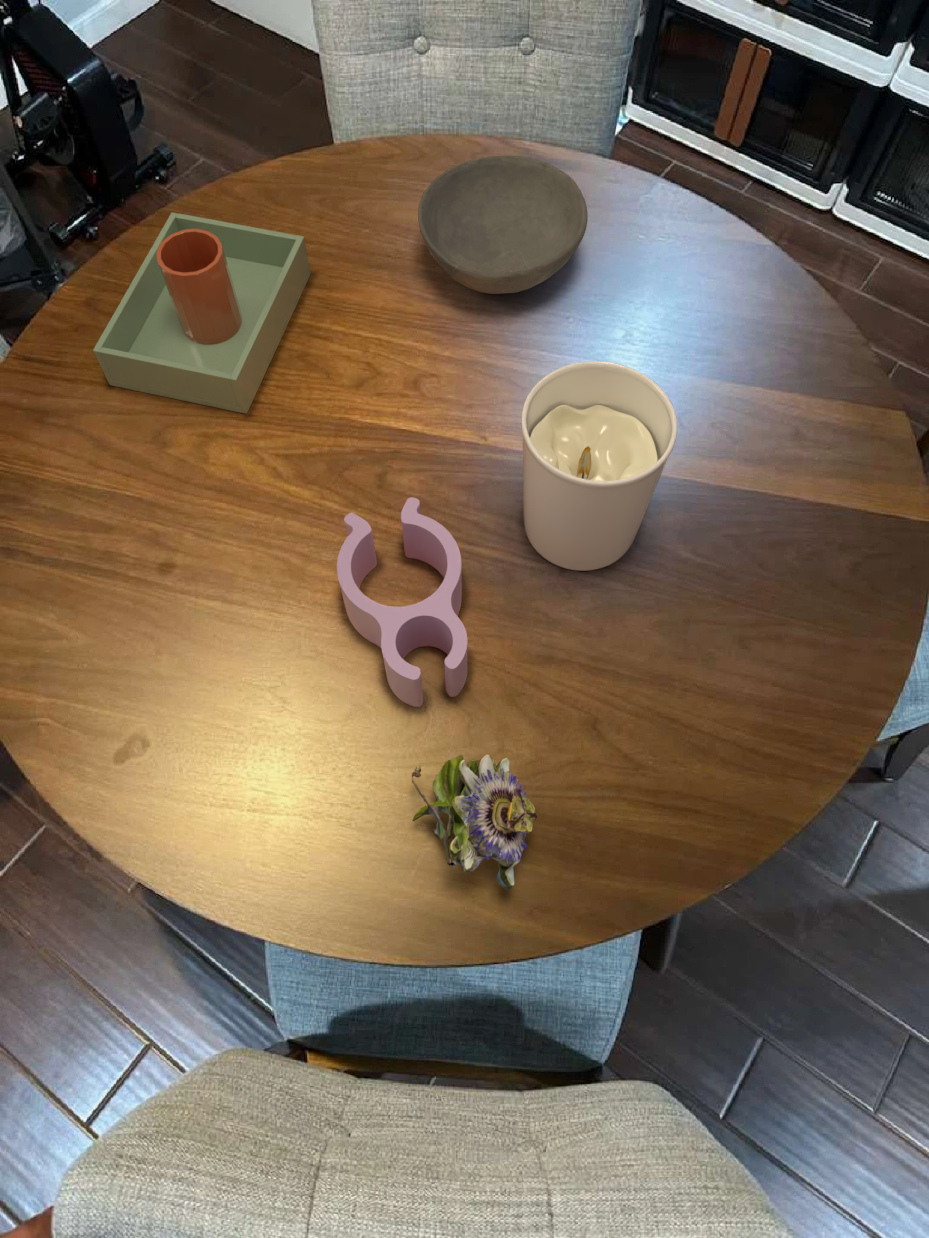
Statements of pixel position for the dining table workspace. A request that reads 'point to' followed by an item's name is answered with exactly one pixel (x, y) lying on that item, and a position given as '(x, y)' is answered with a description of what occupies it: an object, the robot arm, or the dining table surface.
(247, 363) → the green tray
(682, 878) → the dining table surface
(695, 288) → the dining table surface
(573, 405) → the candle holder
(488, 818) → the passion flower
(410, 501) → the clip
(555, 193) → the bowl
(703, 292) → the dining table surface
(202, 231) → the cup
